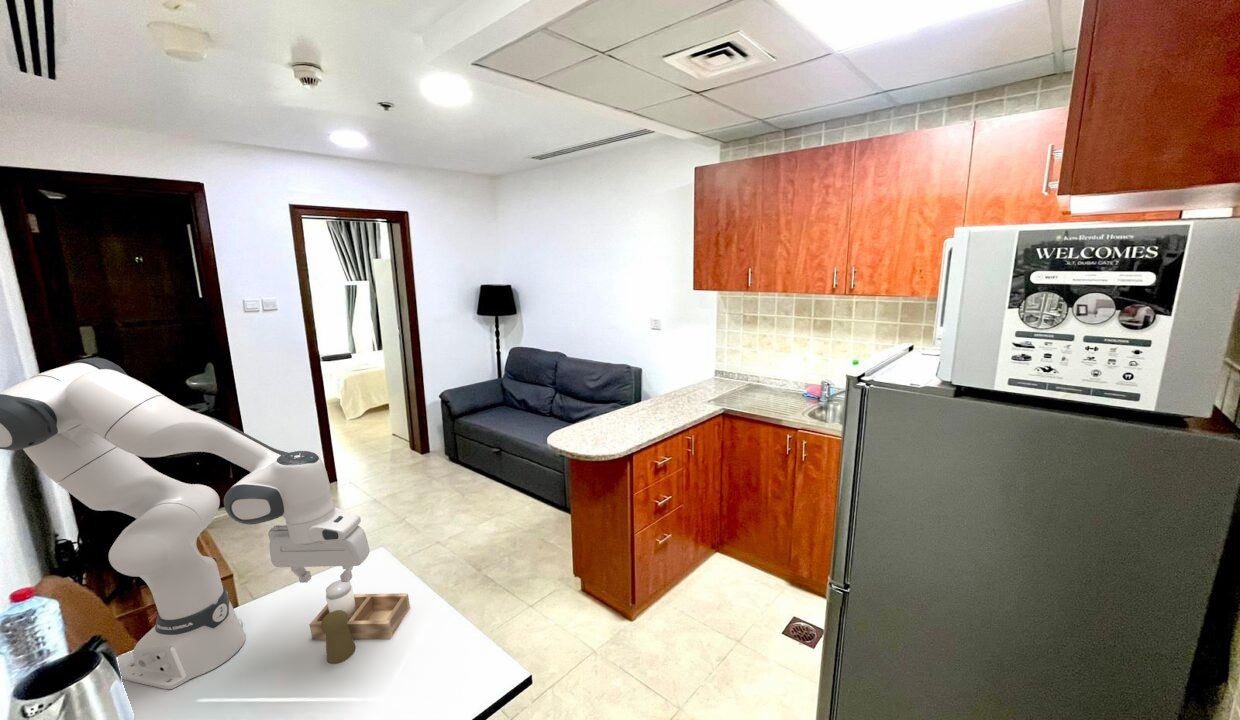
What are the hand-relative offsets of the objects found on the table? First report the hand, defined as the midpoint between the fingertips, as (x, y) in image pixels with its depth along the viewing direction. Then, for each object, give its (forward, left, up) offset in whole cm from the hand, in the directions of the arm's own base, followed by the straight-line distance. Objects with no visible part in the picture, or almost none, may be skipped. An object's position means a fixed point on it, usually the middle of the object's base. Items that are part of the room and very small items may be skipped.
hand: (326, 580), depth 104 cm
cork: (0, 0, -20) cm, 20 cm away
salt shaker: (-5, +9, -19) cm, 22 cm away
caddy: (0, +9, -20) cm, 22 cm away
